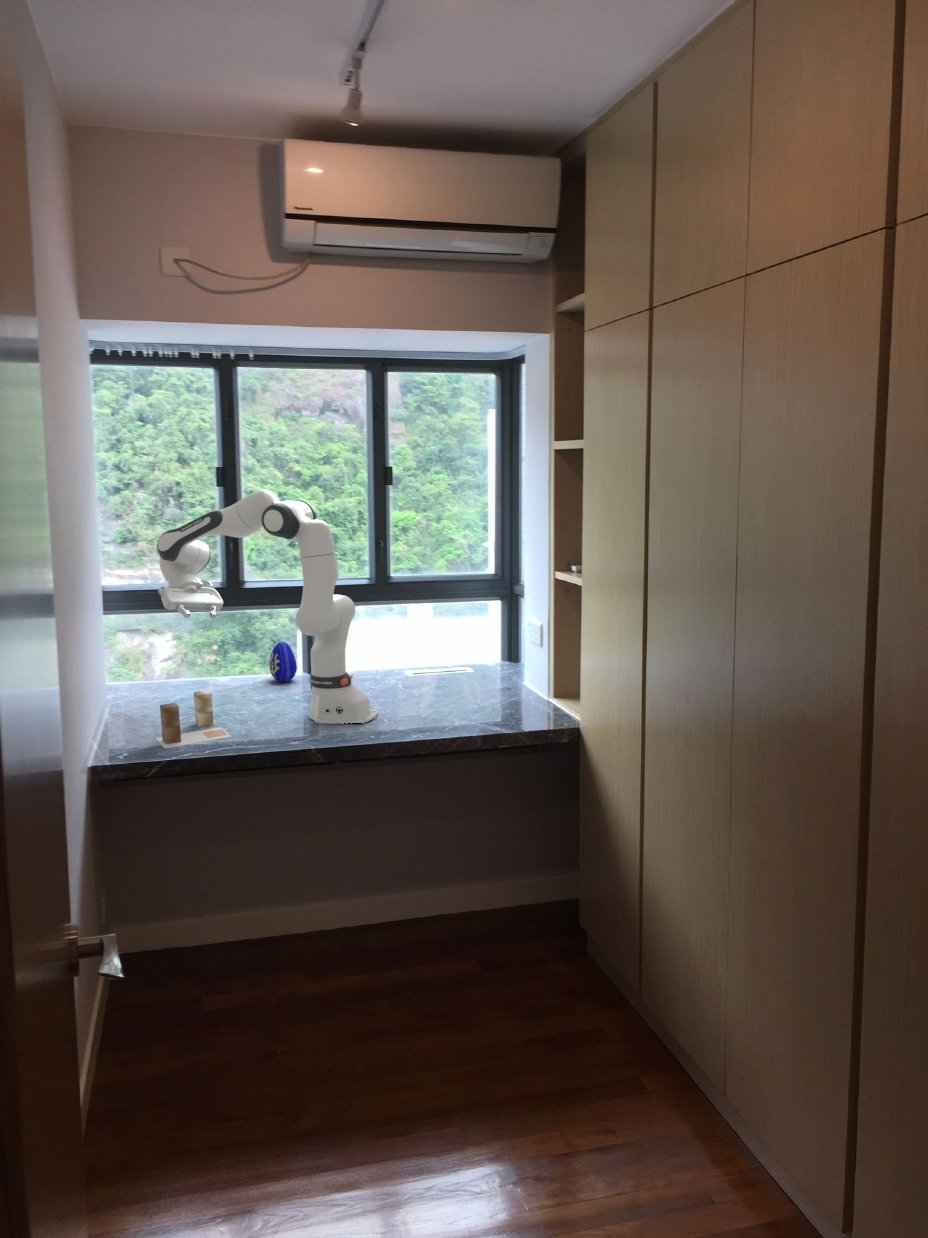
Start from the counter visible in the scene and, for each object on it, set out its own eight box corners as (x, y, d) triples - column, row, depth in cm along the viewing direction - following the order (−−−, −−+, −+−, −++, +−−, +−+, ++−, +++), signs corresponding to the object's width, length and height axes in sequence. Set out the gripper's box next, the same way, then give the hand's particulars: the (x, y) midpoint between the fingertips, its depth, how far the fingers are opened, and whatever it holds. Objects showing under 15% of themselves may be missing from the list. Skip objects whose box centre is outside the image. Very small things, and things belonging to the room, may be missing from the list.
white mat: (220, 728, 296) (220, 726, 296) (231, 738, 287) (231, 736, 287) (155, 740, 286) (155, 738, 286) (164, 750, 277) (164, 748, 277)
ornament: (266, 680, 353) (263, 641, 350) (288, 676, 358) (286, 637, 356) (279, 686, 344) (277, 646, 341) (302, 682, 350) (300, 642, 347)
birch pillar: (209, 723, 302) (207, 690, 300) (213, 726, 298) (211, 693, 296) (196, 725, 300) (193, 692, 297) (199, 729, 296) (197, 695, 294)
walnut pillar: (177, 737, 286) (174, 702, 284) (181, 741, 282) (178, 706, 280) (162, 740, 284) (159, 705, 281) (166, 744, 280) (163, 708, 278)
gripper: (159, 579, 304) (174, 608, 296) (216, 582, 318) (232, 610, 311) (153, 594, 306) (168, 623, 299) (209, 596, 321) (224, 624, 314)
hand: (201, 616), depth 305 cm, fingers open, 8 cm apart
